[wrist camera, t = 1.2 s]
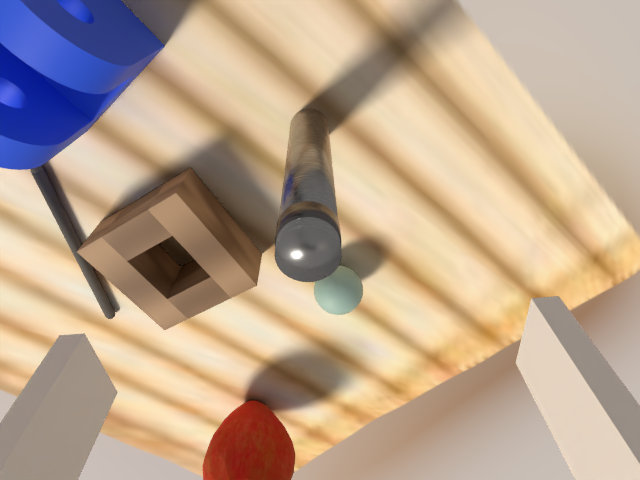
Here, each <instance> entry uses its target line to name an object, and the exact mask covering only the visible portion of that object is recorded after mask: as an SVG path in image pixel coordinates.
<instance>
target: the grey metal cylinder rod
mask: <svg viewBox="0 0 640 480" xmlns="http://www.w3.org/2000/svg"><path fill="white" fill-rule="evenodd" d="M275 260H276V263H277V266H278V267H279V269H280V270H281V271H282V272H283V273H284V274H285V275H287V276H288V277H290V278H292V279H294V280H298V281H302V282H314V281H319V280H322V279H324V278H326V277H328V276H330V275H331V274H332V273H333V272H334V271H335V270H336V269H337V268H338V266H339V264H340V261H341V234H340V225H339V221H338V216H337V207H336V197H335V187H334V178H333V168H332V158H331V149H330V139H329V129H328V123H327V120H326V118H325V117H324V115H323V114H321V113H320V112H318V111H316V110H313V109H305V110H302V111H300V112H298V113H297V114H296V115H295V116H294V117H293V119H292V121H291V126H290V134H289V142H288V150H287V158H286V166H285V175H284V183H283V191H282V199H281V207H280V215H279V220H278V223H277V230H276V238H275Z"/></svg>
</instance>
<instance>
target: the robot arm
mask: <svg viewBox="0 0 640 480" xmlns="http://www.w3.org/2000/svg"><path fill="white" fill-rule="evenodd" d="M516 364H517V366H518V368H519V370H520V372H521V374H522V376H523V378H524V380H525V382H526V383H527V386H528V388H529V390H530V392H531V394H532V396H533V398H534V400H535V402H536V404H537V406H538V407H539V409H540V411H541V413H542V415H543V417H544V419H545V421H546V423H547V425H548V427H549V429H550V431H551V433H552V435H553V437H554V439H555V441H556V443H557V445H558V447H559V449H560V451H561V453H562V455H563V456H564V459H565V461H566V463H567V464H568V467H569V468H570V470H571V472H572V474H573V476H574V478H575V480H640V405H639V404H638V403H637V401H636V400H635V399H634V397H633V396H632V395H631V393H630V392H629V391H628V389H627V388H626V386H625V385H624V384H623V383H622V381H621V380H620V379H619V377H618V376H617V374H616V373H615V372H614V370H613V369H612V368H611V366H610V365H609V364H608V362H607V361H606V359H605V358H604V357H603V355H602V354H601V353H600V351H599V350H598V349H597V347H596V346H595V345H594V343H593V342H592V340H591V339H590V338H589V336H588V335H587V334H586V332H585V331H584V330H583V328H582V327H581V326H580V324H579V323H578V322H577V320H576V319H575V318H574V316H573V315H572V313H571V312H570V311H569V309H568V308H567V307H566V305H565V304H564V303H563V301H562V300H561V299H560V297H559V296H555V297H542V298H531V303H530V307H529V311H528V315H527V319H526V323H525V327H524V331H523V335H522V340H521V344H520V348H519V352H518V356H517V361H516ZM116 394H117V390H116V389H115V387H114V385H113V383H112V382H111V380H110V378H109V376H108V374H107V373H106V371H105V369H104V367H103V366H102V364H101V362H100V360H99V358H98V357H97V355H96V353H95V351H94V350H93V348H92V346H91V344H90V342H89V341H88V339H87V337H86V335H85V334H74V335H61V336H59V337H58V339H57V340H56V342H55V343H54V345H53V346H52V348H51V349H50V350H49V352H48V353H47V355H46V356H45V358H44V359H43V361H42V362H41V364H40V365H39V367H38V368H37V370H36V371H35V373H34V374H33V376H32V377H31V379H30V380H29V381H28V383H27V384H26V386H25V387H24V389H23V390H22V392H21V393H20V395H19V396H18V398H17V399H16V401H15V402H14V404H13V405H12V407H11V408H10V410H9V411H8V413H7V414H6V415H5V417H4V418H3V420H2V421H1V423H0V480H78V478H79V476H80V474H81V472H82V469H83V467H84V465H85V463H86V460H87V458H88V456H89V454H90V451H91V449H92V447H93V445H94V443H95V441H96V438H97V436H98V434H99V432H100V430H101V427H102V425H103V423H104V421H105V419H106V416H107V414H108V412H109V410H110V408H111V405H112V403H113V401H114V399H115V397H116Z"/></svg>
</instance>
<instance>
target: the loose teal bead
mask: <svg viewBox="0 0 640 480" xmlns="http://www.w3.org/2000/svg"><path fill="white" fill-rule="evenodd" d="M314 295H315V299H316V301H317V303H318V304H319V306H320V307H321V308H322V309H323V310H325V311H326V312H328V313H331V314H335V315H342V314H346V313H349V312H351V311H352V310H354V309H355V308H356V307H357V306H358V304H359V303H360V301H361V298H362V295H363V285H362V282H361V280H360V278H359V276H358V275H357V274H356V273H355V272H354V271H353V270H352V269H350V268H348V267H345V266H338V268H337V269H336V270H335V271H334V272H333V273H332V274H331V275H330V276H328V277H326V278H324V279H322V280H319V281H316V282H315V285H314Z"/></svg>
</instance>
